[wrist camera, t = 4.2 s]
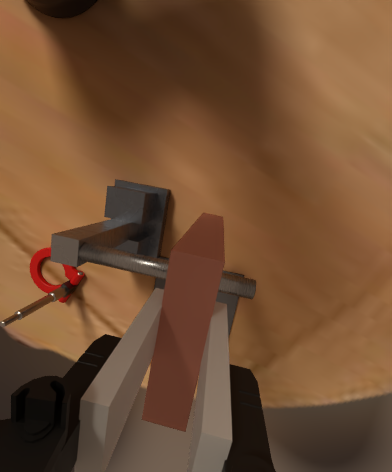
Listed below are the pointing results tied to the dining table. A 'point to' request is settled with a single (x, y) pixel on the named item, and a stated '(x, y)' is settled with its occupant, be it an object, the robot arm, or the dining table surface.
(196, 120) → the dining table surface
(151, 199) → the toilet paper holder
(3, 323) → the tow hook
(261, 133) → the dining table surface
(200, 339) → the reddish-brown c-shaped bracket
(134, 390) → the robot arm
